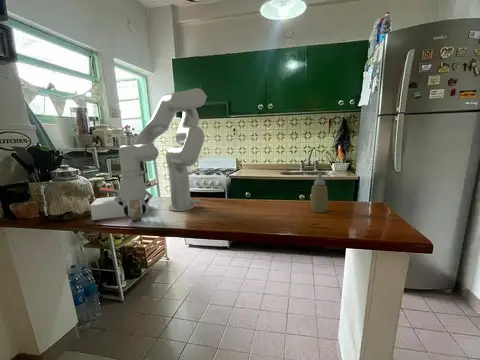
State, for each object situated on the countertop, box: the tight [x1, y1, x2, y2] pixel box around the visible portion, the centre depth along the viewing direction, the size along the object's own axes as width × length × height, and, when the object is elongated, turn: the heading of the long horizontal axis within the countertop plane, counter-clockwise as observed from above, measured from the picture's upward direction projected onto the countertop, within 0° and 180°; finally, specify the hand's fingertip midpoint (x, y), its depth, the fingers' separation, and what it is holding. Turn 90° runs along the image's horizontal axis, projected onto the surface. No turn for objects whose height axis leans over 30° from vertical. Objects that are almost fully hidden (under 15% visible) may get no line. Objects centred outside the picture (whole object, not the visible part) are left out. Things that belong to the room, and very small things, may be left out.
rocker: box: [98, 187, 120, 195], centre depth 119 cm, size 18×5×1 cm, turn 110°
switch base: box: [89, 193, 150, 221], centre depth 120 cm, size 24×14×11 cm, turn 110°
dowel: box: [129, 200, 142, 223], centre depth 108 cm, size 4×4×12 cm
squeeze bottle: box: [309, 172, 329, 214], centre depth 112 cm, size 8×8×18 cm
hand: (135, 213), depth 108 cm, fingers open, 6 cm apart
